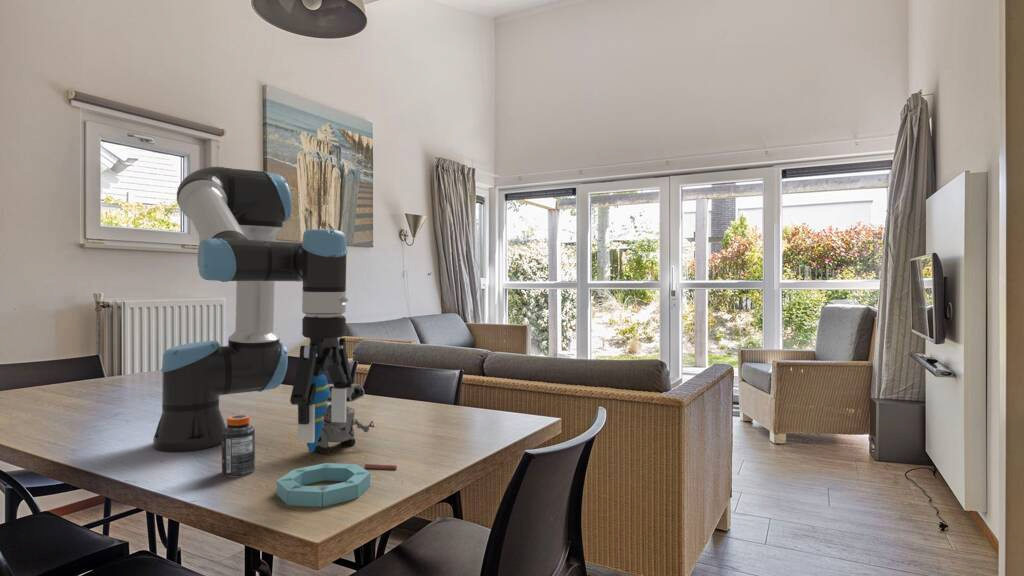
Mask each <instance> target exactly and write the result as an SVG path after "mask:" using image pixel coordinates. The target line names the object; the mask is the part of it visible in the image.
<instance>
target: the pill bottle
mask: <svg viewBox="0 0 1024 576" xmlns="http://www.w3.org/2000/svg"><path fill="white" fill-rule="evenodd" d="M255 435H256V431H255V428H254V426H253V425H250V415H249V414H235V415H230V416H228V417H227V419H226V428H225V429H224V430H223V431H222V443H221V474H222V476H223V477H226V478H238V477H239V478H240V477H246V476H248V475H251V474H252V473H254V472H255V471H256V470H255V469H256V437H255Z"/></svg>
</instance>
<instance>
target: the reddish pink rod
mask: <svg viewBox="0 0 1024 576" xmlns="http://www.w3.org/2000/svg"><path fill="white" fill-rule="evenodd" d="M363 467H364V469H378V470H397V468H398V465H396V464H377V463H376V464H373V463H365V464H364V466H363Z"/></svg>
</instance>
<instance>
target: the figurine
mask: <svg viewBox="0 0 1024 576" xmlns="http://www.w3.org/2000/svg"><path fill="white" fill-rule="evenodd" d="M328 385H329V388H330V394H329V397H328V399H327V403H331V402H332V388H336V387H334V385H333V383H328ZM364 397H365V389H364V388H363V387H362V385H361V384H360V383H352V386H351V388H347V394H346V422H345V423H340V422H331V404H327V410H326V412H325V414H324V424H323V427H322V430H321V434H320V437H319V440H318V442H317V444H316V447H315V449H314V451H313V452H314V453H321V454H324V455H325V454H329V452H331V450H330V446H329V443H336V444H337V443H340V445H347V446H350V447H352V446H355V444H356V438H355V431H354V426H356V428H357V429H361V430H362V431H363V432H364V433H368V432H369V431H370V428H375V426H374V421H373V420H371V422H370V423H369V424H368V425H365V424H363V423H362V422H360V421H359V420H358V418H355V411H356V409H355V408H353V407H350V406H349V405H347V403H353V402H354V401H357V400H359V399H362V398H364Z"/></svg>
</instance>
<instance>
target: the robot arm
mask: <svg viewBox="0 0 1024 576" xmlns="http://www.w3.org/2000/svg"><path fill="white" fill-rule="evenodd" d="M176 202H177V205H178V208H179V209H180V211H181V213H182V214H183V215H184V216H185V217H186V218H188V219H190V221H191V223H192V224H193V226H194V228H195V230H196V232H197V234H198V236H199V238H200V243H199V244H198V248H197V267H198V273H199V275H200V276H199V277H201V278H202V279H203V280H205V281H215V282H216V281H218V282H222V283H228V282H236V287H235V288H236V290H235V293H236V294H235V329H234V330H235V331H234V332H233V333H232V334H231V335H230V336H228V341H227V342H228V345H225V346H222V345H221V344H220V343H219V341H217V340H205V341H196V342H188V343H185V344H180V345H176V346H173V347H170V348H168V349H166V350H165V351H164V353H163V355H162V360H161V361H162V362H161V364H162V365H161V369H160V371H161V373H162V374H161V375H162V377H161V378H162V381H161V382H162V387H161V388H162V390H161V392H162V393H161V394H162V395H161V396H162V397H161V398H162V399H161V405H162V406H161V407H162V409H161V416H160V418H159V421H158V423H157V427H156V429H155V430H156V431H155V434H154V435H153V439H152V440H153V443H152V444H153V446H152V448H153V449H154V450H156V451H158V452H167V453H169V452H170V453H171V452H172V453H177V452H178V453H179V452H180V453H181V452H188V451H189V452H192V451H198V450H203V449H208V448H212V447H216V446H219V445H222V431H223V430H224V429H225V428H226V427H227V425H226V423H225V421H224V418H223V415H222V412H221V409H220V396H224V395H225V396H226V395H233V394H241V393H242V394H243V393H253V392H258V393H261V392H263V391H269V390H274V389H276V388H278V387H279V386H280V385H281V384H282V383H283V381H284V379H285V376H286V373H287V370H288V361H289V359H288V357H289V356H288V355H287V354H288V349H287V346H286V345H285V344H284V343H282V342H281V341H280V340H281V339H280V336H279V335H278V334H277V333H276V332H275V330H274V319H275V318H274V317H275V316H274V315H275V314H274V313H275V282H302V297H301V298H302V299H301V300H302V301H301V302H302V304H301V307H302V308H301V309H302V310H301V313H303V314H305V316H303V317H302V320H301V321H302V323H301V324H302V325H301V326H302V329H301V331H302V333H301V334H302V336H303V338H309V340H310V341H309V345H300V349H299V360H298V363H297V369H296V372H295V377H294V381H293V385H292V390H291V395H290V399H289V402H290V404H291V405H293V406H295V405H296V406H297V443H304V444H305V443H306V444H307V443H314V442H315V404H312V402H313V399H314V396H315V392H316V384H315V383H313V384H311V381H312V377H313V375H314V376H317V377H318V376H319V375H321V374H323V372H325V371H326V370H327V372H328V375H329V377H330V380H331V382H332V384H333V385H334V387H336V388H332V402H330V405H331V422H340V423H345V422H346V405H347V403H346V394H347V388H351V386H352V384H353V382H352V380H353V379H352V373H351V369H350V363H349V359H348V353H347V349H346V348H347V347H346V346H347V345H346V337H345V336H346V331H347V327H346V326H347V325H346V323H347V319H346V317H345V316H344V315H343V314H344V313H346V308H347V307H346V304H347V303H348V302H349V299H348V297H346V295H347V294H346V293H347V254H348V249H347V236H346V234H345V233H344V232H343V231H342V230H337V229H322V228H321V229H318V228H317V229H306V230H305V231H304V232H303V233H302V234H303V236H302V242H295V241H276V237H277V234H278V233H279V232H280V231H282V230H283V225H284V224H283V223H286V222H288V221H290V219H291V217H292V212H293V203H292V202H293V201H292V193H291V190H290V187H289V184H288V182H287V180H286V179H285V177H283V176H282V175H280V174H278V173H273V172H267V171H263V170H262V171H259V170H250V169H249V170H248V169H239V168H231V167H225V166H208V167H203V168H200V169H198V170H197V169H196V170H195V171H193V172H191V173H189V174H188V175H187V176H185V177H184V179H182V181H180V183H179V186H178V187H177V191H176Z"/></svg>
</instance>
